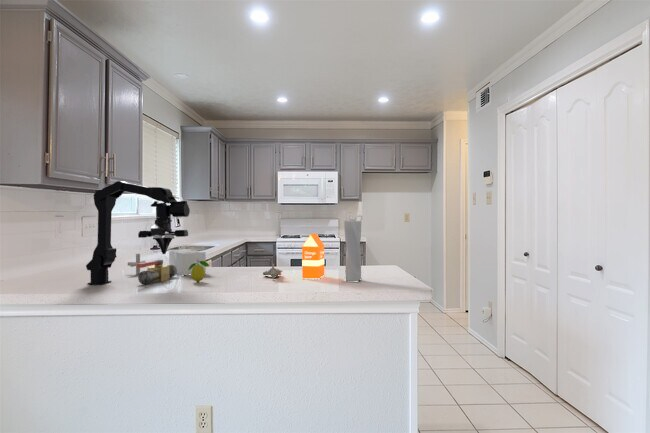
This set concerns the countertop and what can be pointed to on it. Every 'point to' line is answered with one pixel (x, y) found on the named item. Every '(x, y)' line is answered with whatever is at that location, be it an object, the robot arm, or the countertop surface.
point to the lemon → (198, 271)
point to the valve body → (157, 274)
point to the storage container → (186, 260)
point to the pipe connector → (136, 263)
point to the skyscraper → (353, 249)
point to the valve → (273, 272)
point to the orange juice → (313, 257)
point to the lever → (149, 263)
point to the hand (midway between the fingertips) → (164, 254)
